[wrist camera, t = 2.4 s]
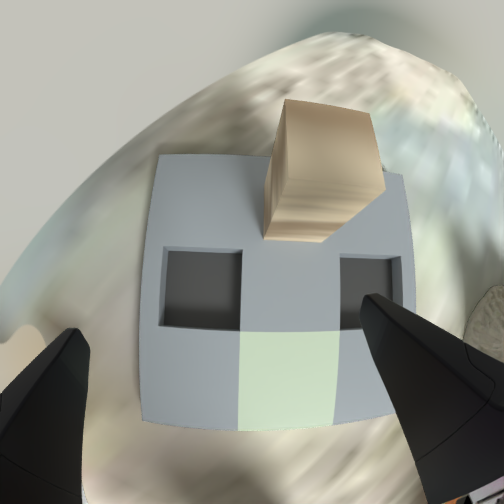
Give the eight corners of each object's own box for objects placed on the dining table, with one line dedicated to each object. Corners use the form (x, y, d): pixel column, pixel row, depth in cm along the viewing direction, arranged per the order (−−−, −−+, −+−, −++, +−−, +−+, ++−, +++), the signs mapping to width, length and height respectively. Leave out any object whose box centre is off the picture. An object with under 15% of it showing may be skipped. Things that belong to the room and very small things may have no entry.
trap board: (396, 404, 20) (407, 409, 18) (149, 412, 19) (142, 420, 17) (392, 183, 25) (402, 174, 23) (164, 165, 23) (159, 154, 21)
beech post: (321, 242, 21) (385, 189, 11) (263, 240, 20) (288, 178, 11) (318, 189, 22) (369, 113, 12) (264, 185, 21) (285, 99, 12)
